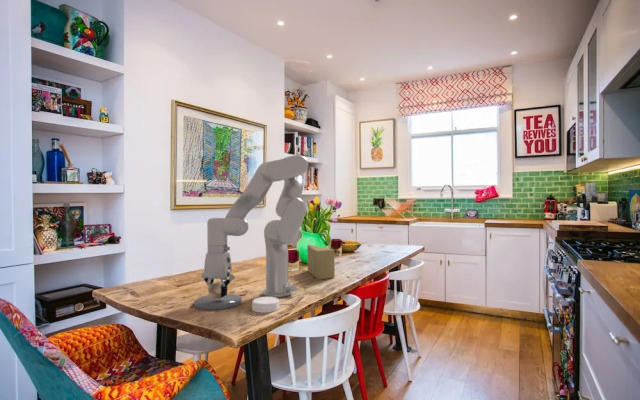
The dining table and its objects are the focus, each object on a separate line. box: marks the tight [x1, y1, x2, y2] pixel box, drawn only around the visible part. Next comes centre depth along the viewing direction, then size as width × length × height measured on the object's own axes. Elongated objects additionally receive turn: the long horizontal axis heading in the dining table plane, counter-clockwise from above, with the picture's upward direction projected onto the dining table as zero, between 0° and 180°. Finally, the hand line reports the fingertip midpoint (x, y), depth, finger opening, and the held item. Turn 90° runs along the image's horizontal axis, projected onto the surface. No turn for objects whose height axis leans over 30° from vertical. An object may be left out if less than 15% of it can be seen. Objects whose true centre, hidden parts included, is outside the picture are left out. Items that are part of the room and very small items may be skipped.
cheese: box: [306, 244, 336, 281], centre depth 192 cm, size 22×10×15 cm, turn 26°
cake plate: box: [193, 293, 243, 311], centre depth 143 cm, size 18×18×1 cm
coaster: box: [251, 296, 280, 314], centre depth 135 cm, size 10×10×4 cm
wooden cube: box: [207, 281, 222, 299], centre depth 142 cm, size 5×5×5 cm
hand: (217, 295), depth 142 cm, fingers closed on wooden cube, 4 cm apart
